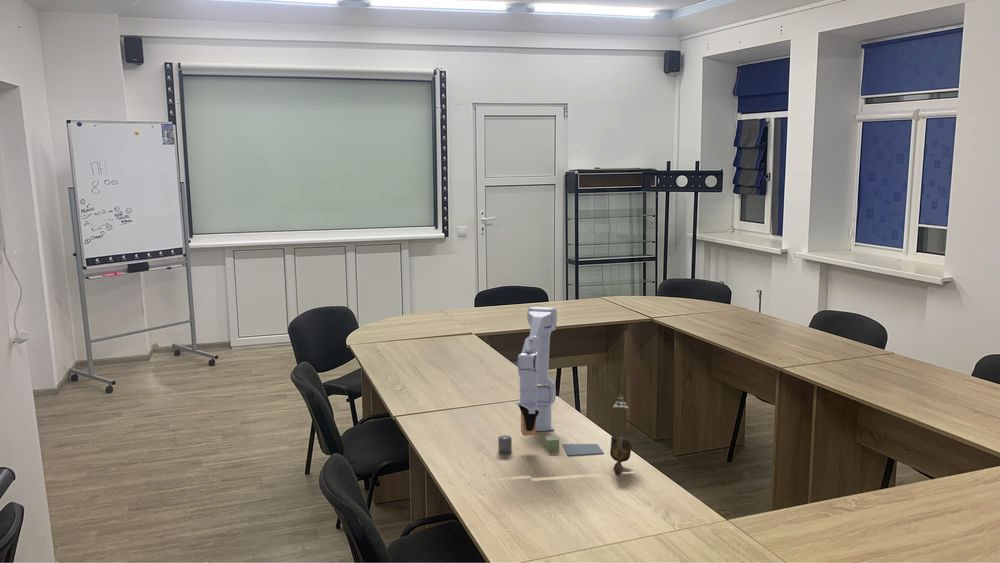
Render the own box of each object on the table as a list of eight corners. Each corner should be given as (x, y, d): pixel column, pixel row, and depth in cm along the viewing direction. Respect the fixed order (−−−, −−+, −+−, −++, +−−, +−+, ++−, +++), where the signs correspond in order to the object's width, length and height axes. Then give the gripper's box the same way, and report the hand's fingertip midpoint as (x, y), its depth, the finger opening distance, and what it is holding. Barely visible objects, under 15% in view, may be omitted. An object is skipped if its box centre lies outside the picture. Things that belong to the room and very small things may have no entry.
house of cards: (635, 409, 290) (635, 390, 289) (634, 416, 282) (634, 397, 280) (612, 407, 292) (612, 389, 291) (610, 414, 284) (610, 395, 283)
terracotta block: (520, 431, 248) (520, 412, 247) (533, 430, 248) (533, 411, 247) (523, 435, 243) (522, 416, 242) (536, 434, 244) (535, 416, 243)
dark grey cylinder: (497, 450, 247) (497, 435, 247) (510, 449, 248) (510, 435, 247) (499, 454, 243) (499, 440, 242) (512, 454, 244) (512, 439, 243)
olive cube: (545, 447, 249) (545, 436, 249) (556, 447, 250) (556, 435, 249) (547, 452, 245) (547, 440, 245) (559, 451, 246) (559, 439, 245)
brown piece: (629, 462, 236) (629, 432, 234) (638, 478, 223) (638, 446, 222) (607, 462, 236) (607, 432, 234) (614, 478, 223) (614, 447, 222)
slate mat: (559, 441, 255) (559, 440, 255) (592, 439, 257) (592, 438, 257) (568, 456, 241) (568, 454, 241) (603, 453, 243) (603, 452, 243)
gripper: (513, 383, 250) (513, 421, 252) (519, 395, 236) (520, 436, 238) (533, 382, 251) (533, 420, 253) (541, 394, 237) (541, 434, 239)
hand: (528, 427), depth 246 cm, fingers closed on terracotta block, 4 cm apart
